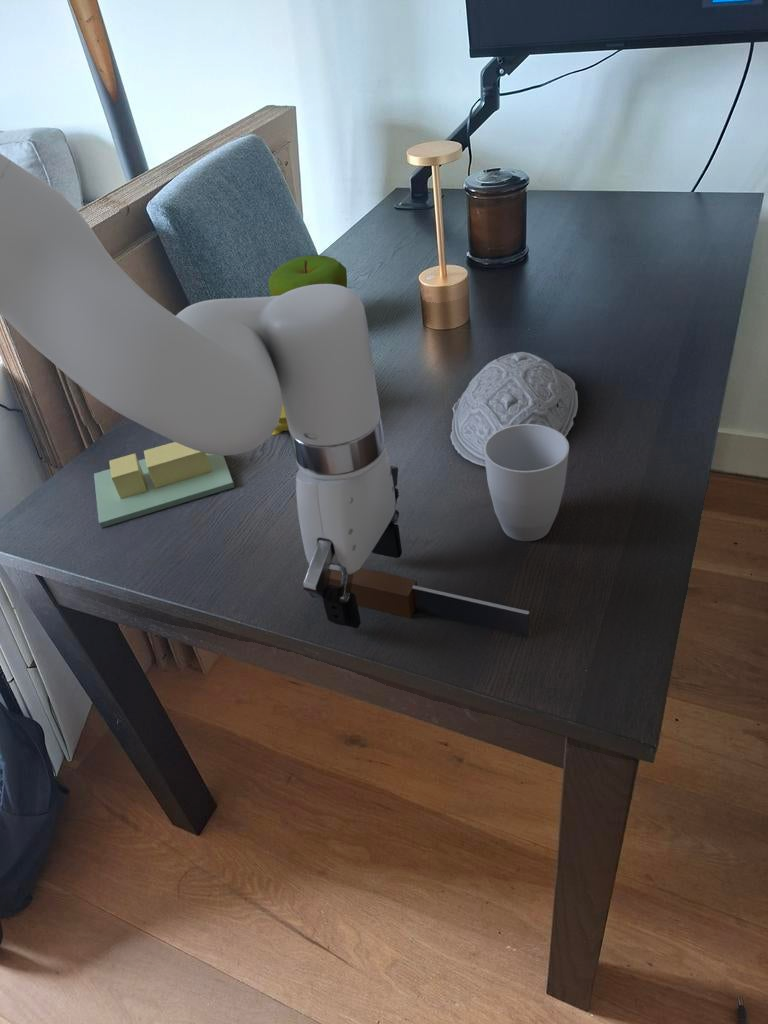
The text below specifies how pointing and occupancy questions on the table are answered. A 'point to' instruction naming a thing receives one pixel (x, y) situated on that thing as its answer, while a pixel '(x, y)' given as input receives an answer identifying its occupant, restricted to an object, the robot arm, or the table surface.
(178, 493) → the butter dish
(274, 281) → the apple
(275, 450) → the table surface
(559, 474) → the cup
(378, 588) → the knife
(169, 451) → the butter block
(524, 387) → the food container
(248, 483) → the table surface
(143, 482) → the block
